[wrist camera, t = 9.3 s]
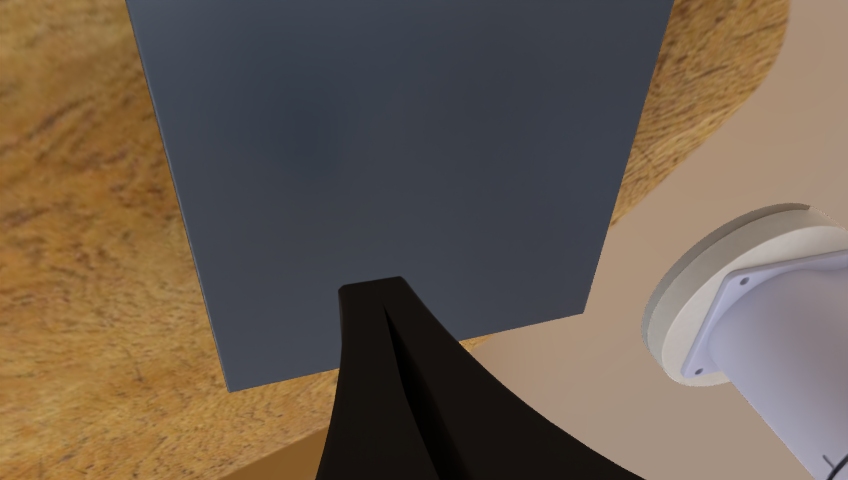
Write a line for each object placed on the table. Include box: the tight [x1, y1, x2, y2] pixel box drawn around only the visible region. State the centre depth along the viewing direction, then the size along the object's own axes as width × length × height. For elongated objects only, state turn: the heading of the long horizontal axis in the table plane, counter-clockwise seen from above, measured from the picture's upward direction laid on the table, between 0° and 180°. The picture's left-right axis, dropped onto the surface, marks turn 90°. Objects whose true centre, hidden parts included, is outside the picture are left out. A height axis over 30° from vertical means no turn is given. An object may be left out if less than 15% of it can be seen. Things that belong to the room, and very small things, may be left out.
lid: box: [125, 0, 674, 393], centre depth 16 cm, size 12×12×1 cm
